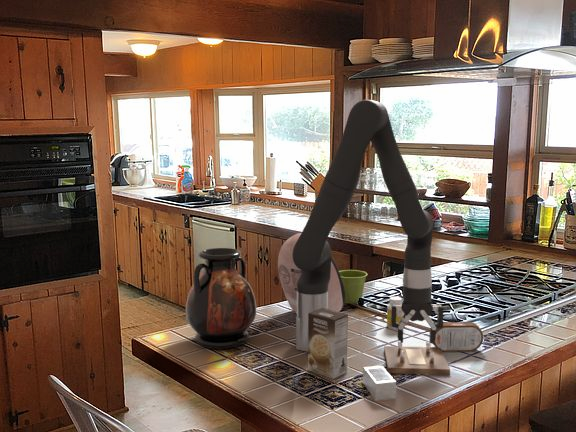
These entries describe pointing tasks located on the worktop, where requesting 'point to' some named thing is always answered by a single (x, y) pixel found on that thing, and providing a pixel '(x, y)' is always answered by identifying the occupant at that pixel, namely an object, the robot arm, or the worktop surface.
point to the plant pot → (353, 284)
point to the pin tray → (416, 360)
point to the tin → (458, 337)
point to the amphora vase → (220, 300)
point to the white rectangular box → (379, 383)
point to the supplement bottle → (398, 315)
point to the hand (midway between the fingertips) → (416, 341)
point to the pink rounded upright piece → (292, 274)
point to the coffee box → (327, 342)
